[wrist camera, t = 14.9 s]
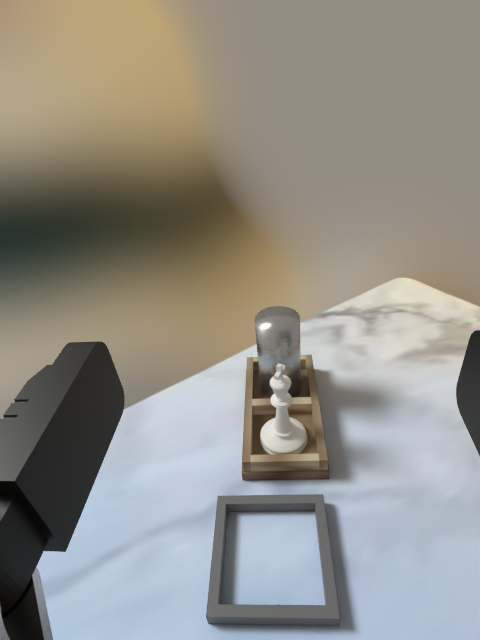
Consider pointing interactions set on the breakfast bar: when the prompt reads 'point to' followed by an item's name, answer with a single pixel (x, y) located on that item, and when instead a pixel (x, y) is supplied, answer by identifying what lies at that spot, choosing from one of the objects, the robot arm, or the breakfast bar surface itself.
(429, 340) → the breakfast bar surface
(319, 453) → the wooden divided tray
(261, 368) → the steel peg
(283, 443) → the chess piece
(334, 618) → the frame
